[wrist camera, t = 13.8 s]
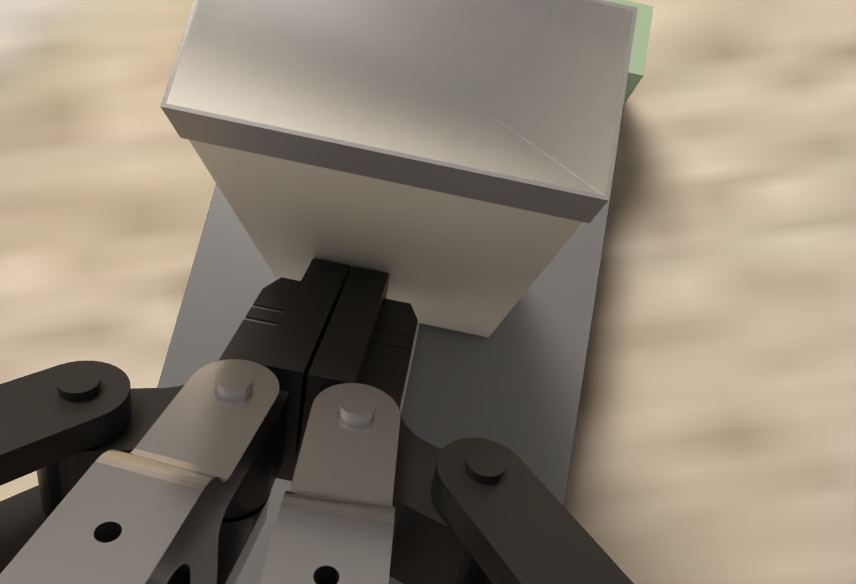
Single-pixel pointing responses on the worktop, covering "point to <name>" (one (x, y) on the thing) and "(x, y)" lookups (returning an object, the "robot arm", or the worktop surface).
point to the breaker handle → (409, 136)
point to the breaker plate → (433, 344)
